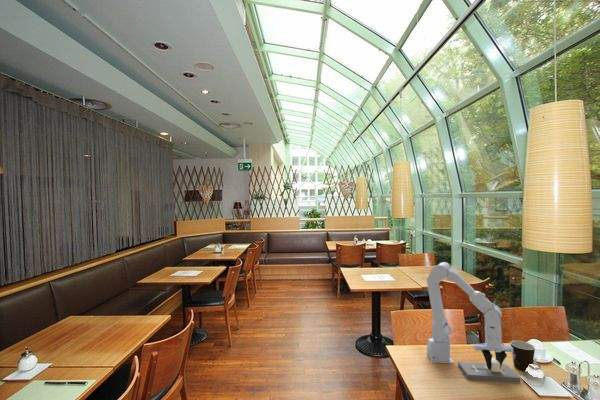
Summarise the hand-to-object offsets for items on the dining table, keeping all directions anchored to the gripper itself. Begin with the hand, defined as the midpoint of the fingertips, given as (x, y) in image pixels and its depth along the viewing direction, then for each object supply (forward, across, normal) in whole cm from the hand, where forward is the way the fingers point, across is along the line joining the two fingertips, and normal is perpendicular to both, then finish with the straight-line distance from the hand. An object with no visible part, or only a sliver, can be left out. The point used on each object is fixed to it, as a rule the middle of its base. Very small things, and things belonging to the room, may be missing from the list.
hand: (493, 368), depth 127 cm
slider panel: (+3, -2, 0) cm, 4 cm away
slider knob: (0, 0, 0) cm, 0 cm away
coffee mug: (+3, +16, +8) cm, 18 cm away
